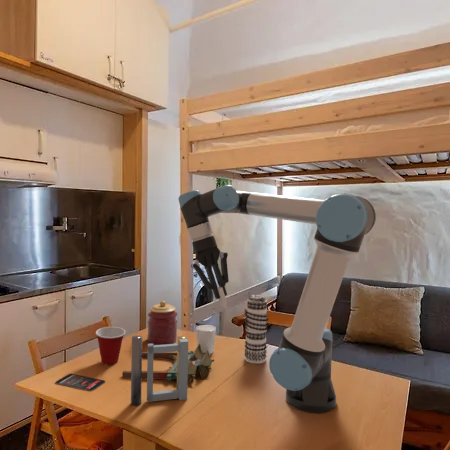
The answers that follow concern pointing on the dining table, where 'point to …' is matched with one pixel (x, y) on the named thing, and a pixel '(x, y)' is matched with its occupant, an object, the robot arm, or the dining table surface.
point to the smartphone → (80, 382)
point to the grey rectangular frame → (183, 371)
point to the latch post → (178, 357)
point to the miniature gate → (194, 363)
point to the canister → (162, 324)
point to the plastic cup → (110, 344)
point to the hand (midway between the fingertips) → (224, 306)
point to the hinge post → (136, 370)
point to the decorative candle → (256, 329)
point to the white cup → (206, 338)
